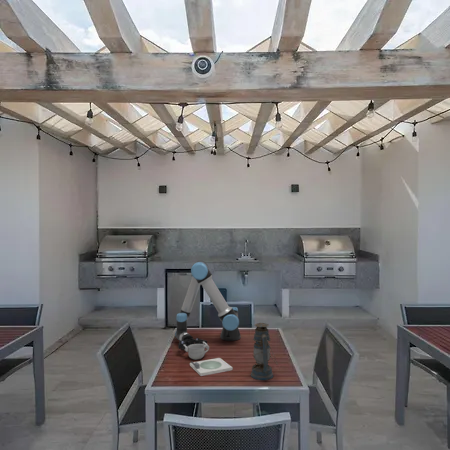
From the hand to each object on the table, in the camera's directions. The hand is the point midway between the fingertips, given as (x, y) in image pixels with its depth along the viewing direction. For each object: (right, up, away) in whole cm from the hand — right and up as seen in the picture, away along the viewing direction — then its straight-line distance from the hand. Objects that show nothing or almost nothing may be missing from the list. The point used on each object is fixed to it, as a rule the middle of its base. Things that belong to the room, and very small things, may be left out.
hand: (197, 348), depth 247 cm
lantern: (+40, -6, -30) cm, 50 cm away
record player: (+9, -6, -18) cm, 21 cm away
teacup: (+1, -6, -1) cm, 6 cm away
